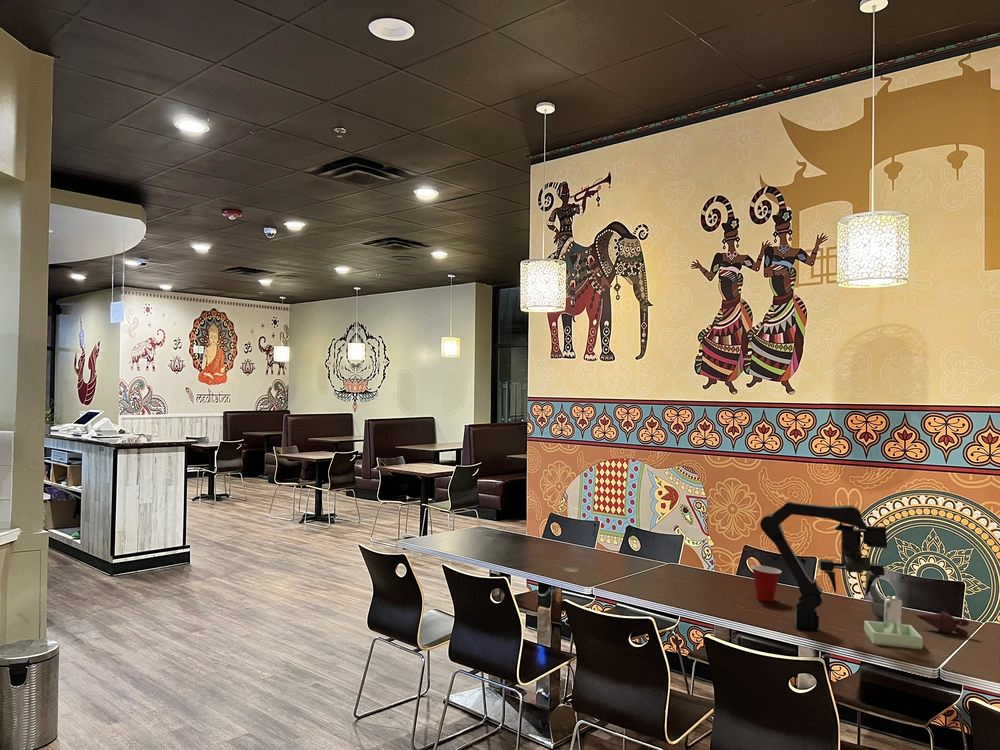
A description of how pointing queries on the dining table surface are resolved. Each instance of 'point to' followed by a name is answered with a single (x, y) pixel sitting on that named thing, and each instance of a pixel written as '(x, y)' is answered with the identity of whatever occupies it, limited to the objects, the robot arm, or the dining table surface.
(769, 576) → the plastic cup
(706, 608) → the dining table surface
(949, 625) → the icecream
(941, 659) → the dining table surface
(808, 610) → the robot arm
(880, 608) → the mortar and pestle
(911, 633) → the pale green bin
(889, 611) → the cylinder with three balls
